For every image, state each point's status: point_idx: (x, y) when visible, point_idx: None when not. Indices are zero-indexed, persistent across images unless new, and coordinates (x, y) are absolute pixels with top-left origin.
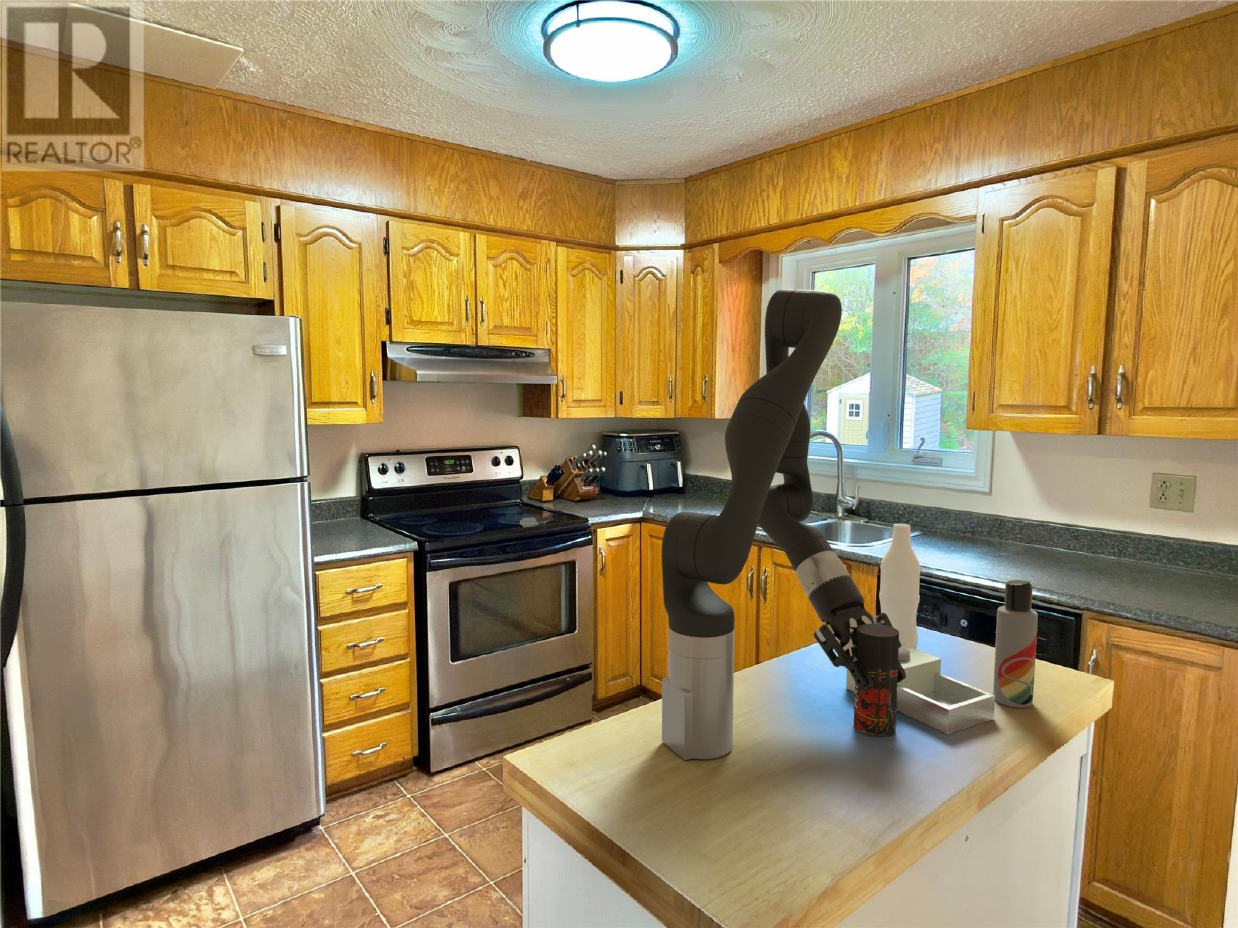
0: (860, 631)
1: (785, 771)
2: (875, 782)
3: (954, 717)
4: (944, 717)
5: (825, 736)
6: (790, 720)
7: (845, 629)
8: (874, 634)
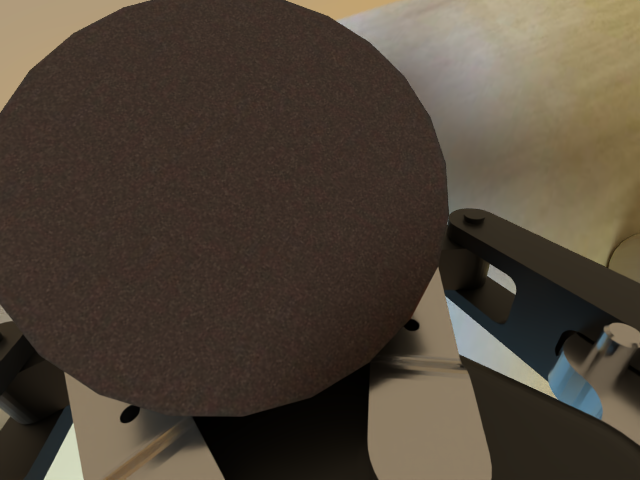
0: (436, 182)
1: (528, 167)
2: None
3: None
4: None
5: None
6: None
7: (480, 397)
8: (346, 78)
